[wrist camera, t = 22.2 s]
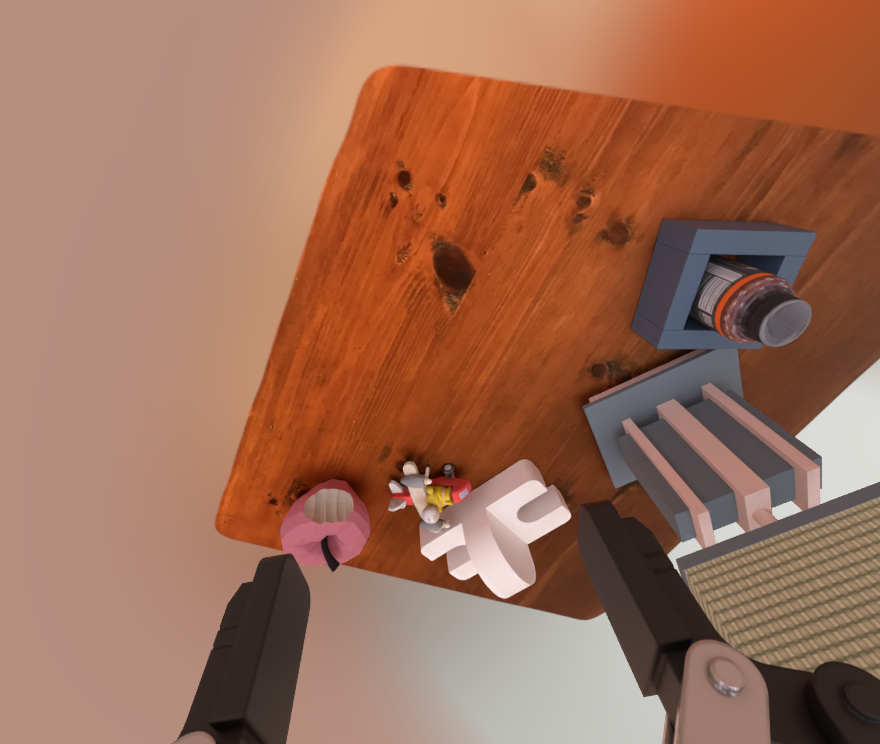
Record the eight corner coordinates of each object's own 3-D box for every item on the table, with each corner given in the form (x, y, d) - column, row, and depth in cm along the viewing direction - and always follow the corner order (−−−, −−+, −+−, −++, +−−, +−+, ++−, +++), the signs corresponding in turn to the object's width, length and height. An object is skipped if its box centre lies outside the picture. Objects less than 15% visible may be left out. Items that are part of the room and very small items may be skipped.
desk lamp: (600, 476, 54) (831, 851, 25) (568, 399, 47) (834, 794, 19) (739, 418, 51) (1169, 764, 23) (726, 327, 44) (1316, 660, 16)
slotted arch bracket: (564, 495, 55) (599, 568, 46) (458, 558, 59) (470, 637, 50) (526, 456, 51) (556, 527, 41) (415, 527, 55) (420, 606, 46)
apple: (378, 468, 49) (375, 538, 41) (366, 518, 53) (360, 591, 45) (296, 458, 47) (274, 529, 39) (289, 510, 51) (268, 585, 43)
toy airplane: (472, 467, 51) (482, 508, 45) (435, 514, 54) (440, 557, 49) (407, 442, 48) (409, 482, 42) (373, 493, 51) (370, 536, 46)
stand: (662, 218, 38) (697, 229, 33) (770, 222, 39) (817, 232, 35) (630, 328, 43) (656, 349, 39) (725, 328, 44) (761, 349, 40)
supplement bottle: (735, 268, 41) (843, 309, 31) (692, 318, 43) (779, 370, 33) (695, 239, 39) (795, 273, 29) (652, 293, 41) (732, 341, 32)
